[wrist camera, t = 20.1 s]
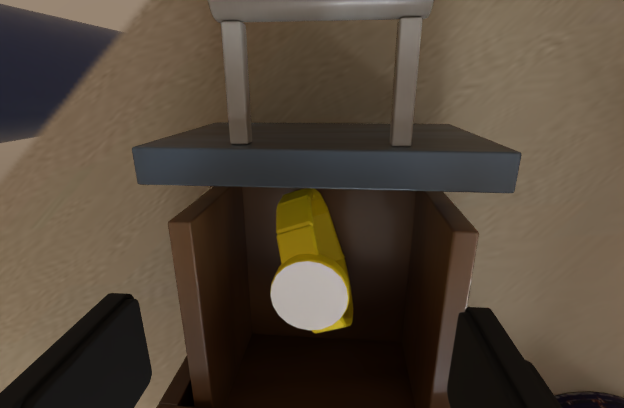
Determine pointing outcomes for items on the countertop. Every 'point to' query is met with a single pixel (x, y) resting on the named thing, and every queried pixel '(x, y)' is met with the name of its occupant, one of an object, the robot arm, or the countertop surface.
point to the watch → (310, 266)
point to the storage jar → (590, 400)
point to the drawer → (348, 225)
